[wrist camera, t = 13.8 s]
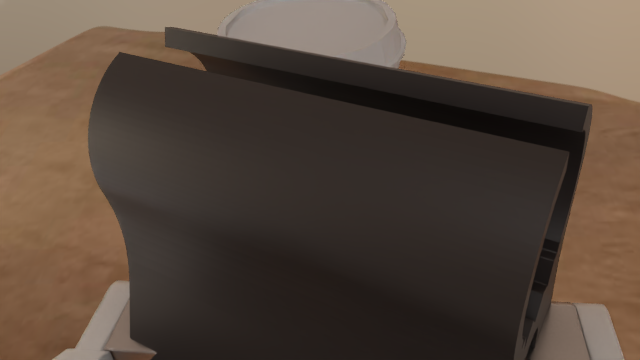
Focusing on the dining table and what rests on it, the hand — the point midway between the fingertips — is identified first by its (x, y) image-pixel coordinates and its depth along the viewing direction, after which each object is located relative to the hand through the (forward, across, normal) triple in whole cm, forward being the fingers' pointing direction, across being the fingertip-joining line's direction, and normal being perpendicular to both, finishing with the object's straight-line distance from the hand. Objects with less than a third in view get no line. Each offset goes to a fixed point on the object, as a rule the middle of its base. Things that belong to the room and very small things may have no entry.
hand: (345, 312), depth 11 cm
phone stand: (-1, 0, +7) cm, 7 cm away
